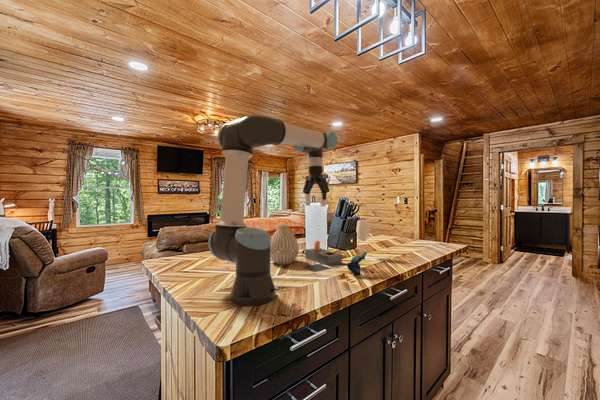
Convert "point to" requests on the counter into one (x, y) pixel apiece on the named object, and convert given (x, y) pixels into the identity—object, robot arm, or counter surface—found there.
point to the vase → (283, 246)
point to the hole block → (324, 257)
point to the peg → (316, 245)
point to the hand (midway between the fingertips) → (315, 206)
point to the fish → (356, 263)
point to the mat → (316, 267)
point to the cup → (363, 229)
